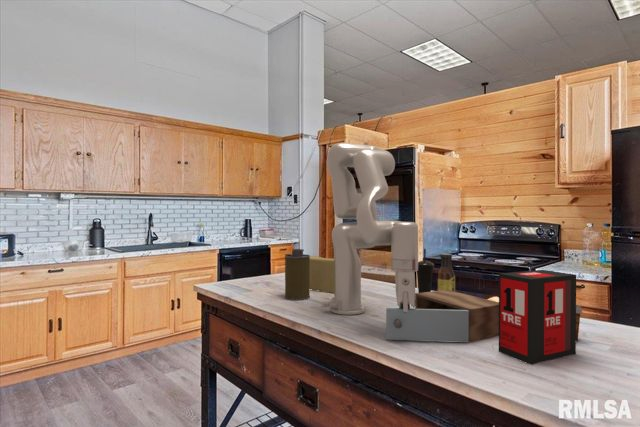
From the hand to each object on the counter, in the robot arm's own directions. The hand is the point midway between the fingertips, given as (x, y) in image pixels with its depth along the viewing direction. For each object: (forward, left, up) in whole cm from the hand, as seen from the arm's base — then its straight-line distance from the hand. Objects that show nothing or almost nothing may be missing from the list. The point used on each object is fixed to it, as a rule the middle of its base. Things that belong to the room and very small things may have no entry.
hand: (404, 328), depth 107 cm
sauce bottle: (+36, +19, -2) cm, 41 cm away
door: (+2, -7, -2) cm, 7 cm away
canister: (-8, +58, -2) cm, 59 cm away
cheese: (+9, +64, -2) cm, 65 cm away
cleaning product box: (+22, -25, -2) cm, 33 cm away
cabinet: (+20, -1, -2) cm, 20 cm away
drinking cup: (+42, +37, -2) cm, 56 cm away
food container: (+40, -19, -2) cm, 44 cm away
